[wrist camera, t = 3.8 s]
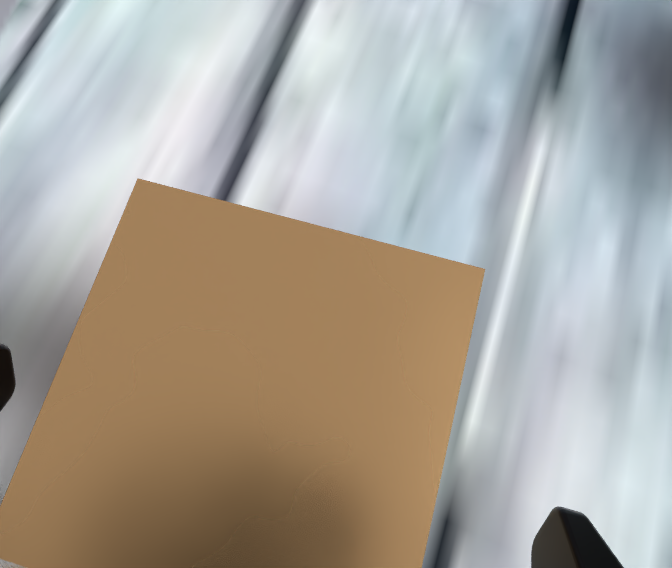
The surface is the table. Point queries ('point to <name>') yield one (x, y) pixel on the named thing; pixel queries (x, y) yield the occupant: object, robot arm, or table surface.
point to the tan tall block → (245, 398)
